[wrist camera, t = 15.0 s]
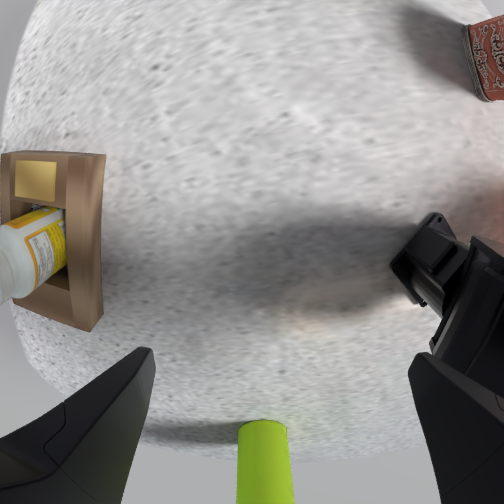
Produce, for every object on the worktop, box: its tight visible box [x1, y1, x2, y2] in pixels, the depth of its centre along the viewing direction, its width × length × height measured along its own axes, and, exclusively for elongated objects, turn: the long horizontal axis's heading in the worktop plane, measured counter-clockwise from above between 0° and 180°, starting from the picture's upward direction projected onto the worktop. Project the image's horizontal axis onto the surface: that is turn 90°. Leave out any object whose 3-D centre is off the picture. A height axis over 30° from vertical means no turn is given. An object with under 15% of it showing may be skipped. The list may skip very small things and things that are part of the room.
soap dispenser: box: [236, 420, 294, 504], centre depth 20 cm, size 6×7×20 cm
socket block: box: [0, 150, 106, 333], centre depth 18 cm, size 14×10×3 cm
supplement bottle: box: [0, 206, 67, 306], centre depth 16 cm, size 5×5×10 cm
